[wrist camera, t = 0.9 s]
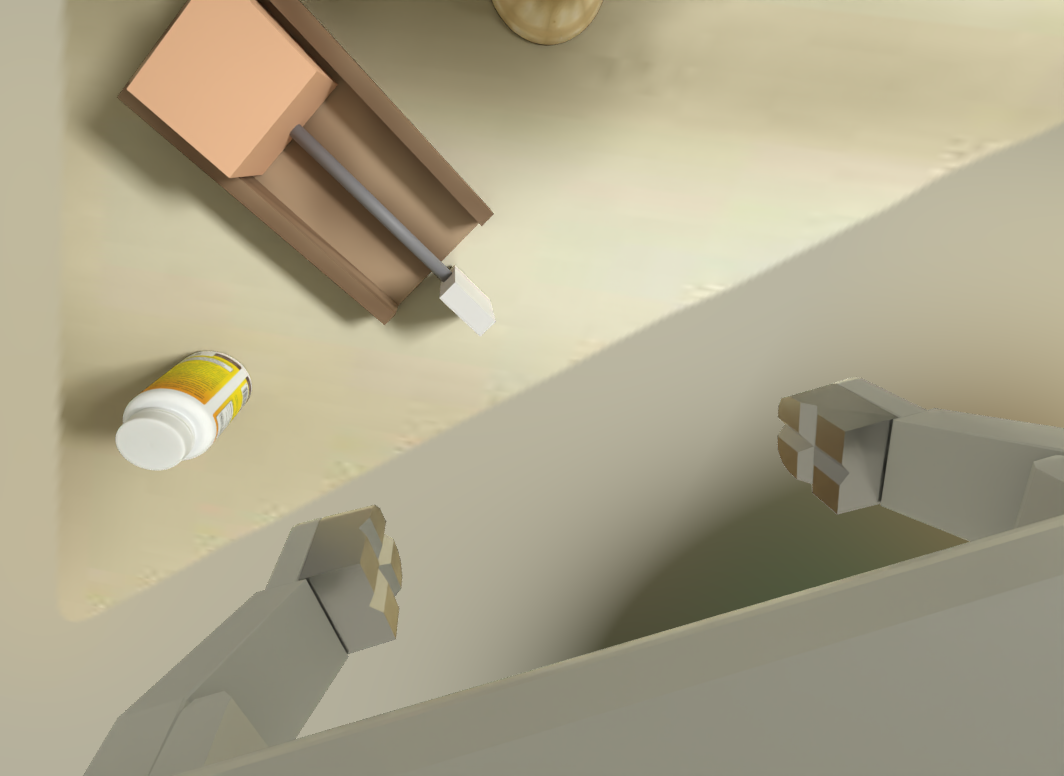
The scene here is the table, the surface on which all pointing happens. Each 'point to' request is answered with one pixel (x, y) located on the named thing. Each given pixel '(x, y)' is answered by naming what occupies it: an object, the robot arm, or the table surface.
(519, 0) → the hand bell
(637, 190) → the table surface
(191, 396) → the supplement bottle
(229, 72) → the pull block
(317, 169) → the shelf lane
